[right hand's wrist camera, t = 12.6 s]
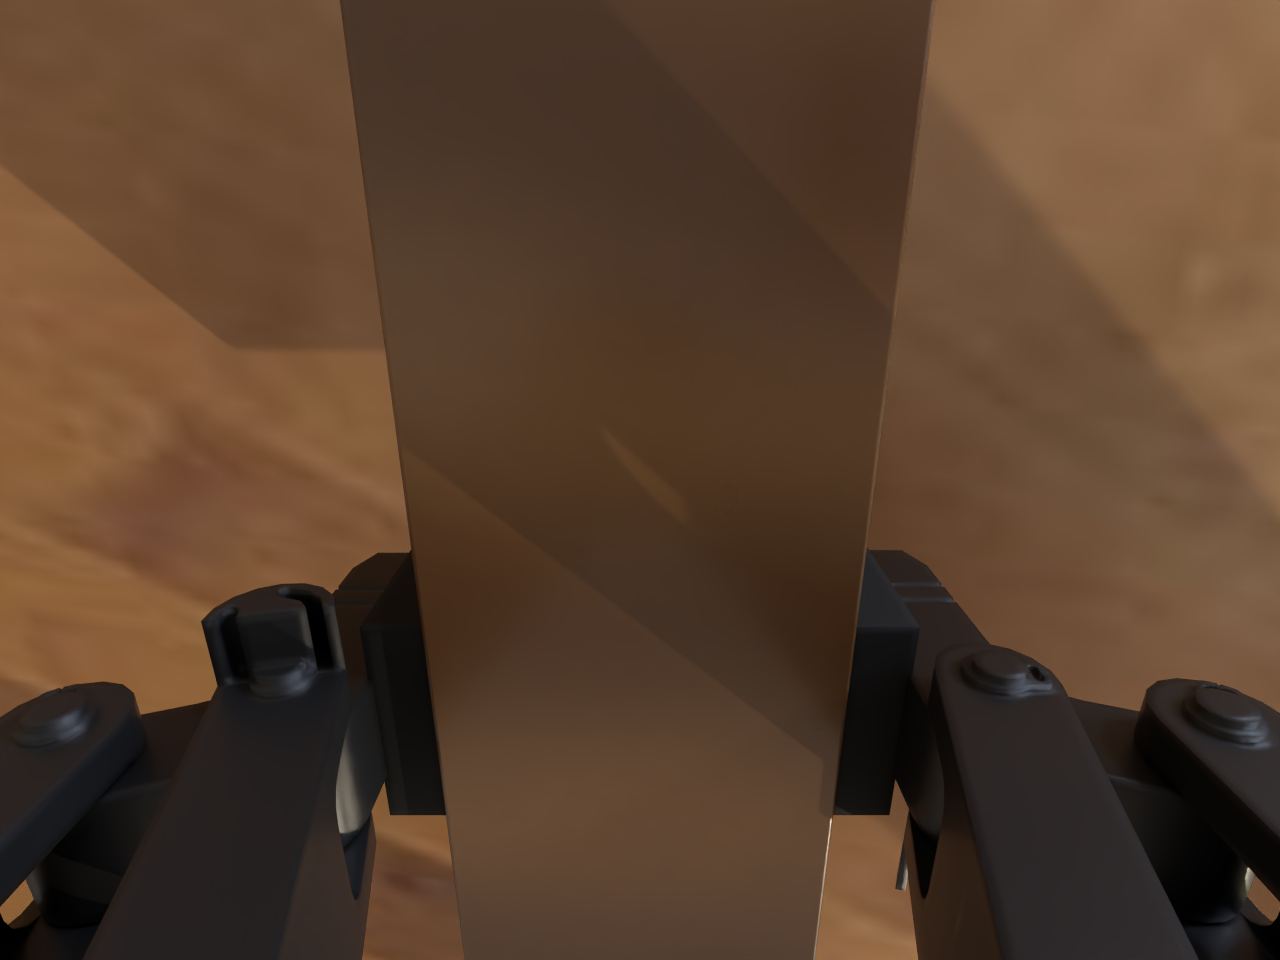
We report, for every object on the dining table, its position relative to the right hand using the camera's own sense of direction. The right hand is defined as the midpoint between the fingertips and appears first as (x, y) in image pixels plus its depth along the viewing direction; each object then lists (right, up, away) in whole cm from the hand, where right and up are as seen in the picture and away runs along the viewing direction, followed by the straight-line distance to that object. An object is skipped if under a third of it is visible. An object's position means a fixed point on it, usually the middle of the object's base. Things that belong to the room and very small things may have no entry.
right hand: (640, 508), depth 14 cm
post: (0, +22, -8) cm, 23 cm away
